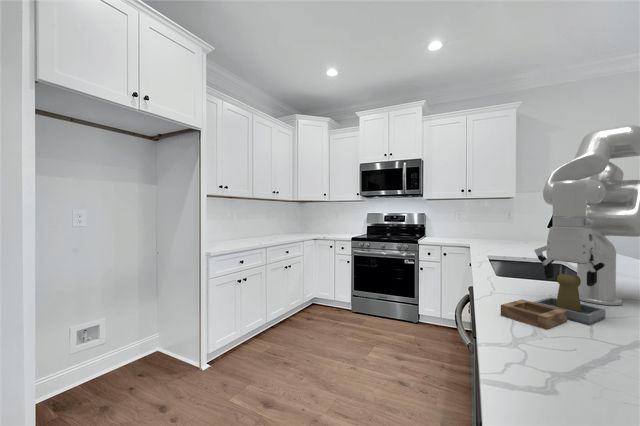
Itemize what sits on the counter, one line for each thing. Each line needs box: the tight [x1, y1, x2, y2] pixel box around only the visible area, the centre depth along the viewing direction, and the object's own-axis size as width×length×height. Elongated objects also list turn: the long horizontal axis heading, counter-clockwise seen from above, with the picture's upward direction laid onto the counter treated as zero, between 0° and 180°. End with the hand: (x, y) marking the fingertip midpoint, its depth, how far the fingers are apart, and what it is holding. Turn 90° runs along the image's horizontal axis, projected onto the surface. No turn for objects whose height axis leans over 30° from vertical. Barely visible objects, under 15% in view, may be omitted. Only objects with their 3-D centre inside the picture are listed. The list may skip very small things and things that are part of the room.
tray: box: [533, 297, 606, 326], centre depth 84 cm, size 11×13×2 cm
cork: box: [555, 273, 582, 313], centre depth 84 cm, size 6×6×11 cm
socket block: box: [500, 299, 568, 330], centre depth 80 cm, size 11×11×3 cm
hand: (569, 281), depth 84 cm, fingers open, 9 cm apart
